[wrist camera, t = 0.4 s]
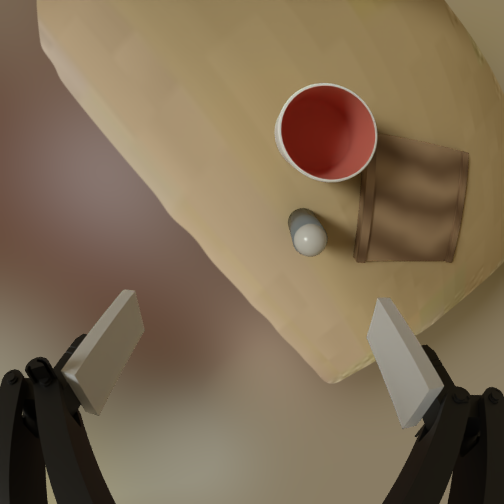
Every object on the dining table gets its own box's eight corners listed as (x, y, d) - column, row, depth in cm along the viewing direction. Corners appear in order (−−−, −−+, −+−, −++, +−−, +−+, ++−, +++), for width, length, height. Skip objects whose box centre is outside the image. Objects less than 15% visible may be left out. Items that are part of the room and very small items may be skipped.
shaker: (288, 207, 37) (295, 227, 28) (317, 208, 36) (332, 228, 28) (287, 236, 38) (293, 262, 30) (315, 236, 38) (329, 263, 30)
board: (363, 132, 32) (368, 131, 30) (461, 151, 31) (468, 152, 29) (353, 256, 39) (357, 262, 37) (445, 257, 38) (451, 262, 36)
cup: (280, 176, 35) (286, 188, 26) (268, 102, 31) (269, 87, 22) (353, 168, 34) (382, 178, 25) (343, 96, 30) (369, 82, 21)
